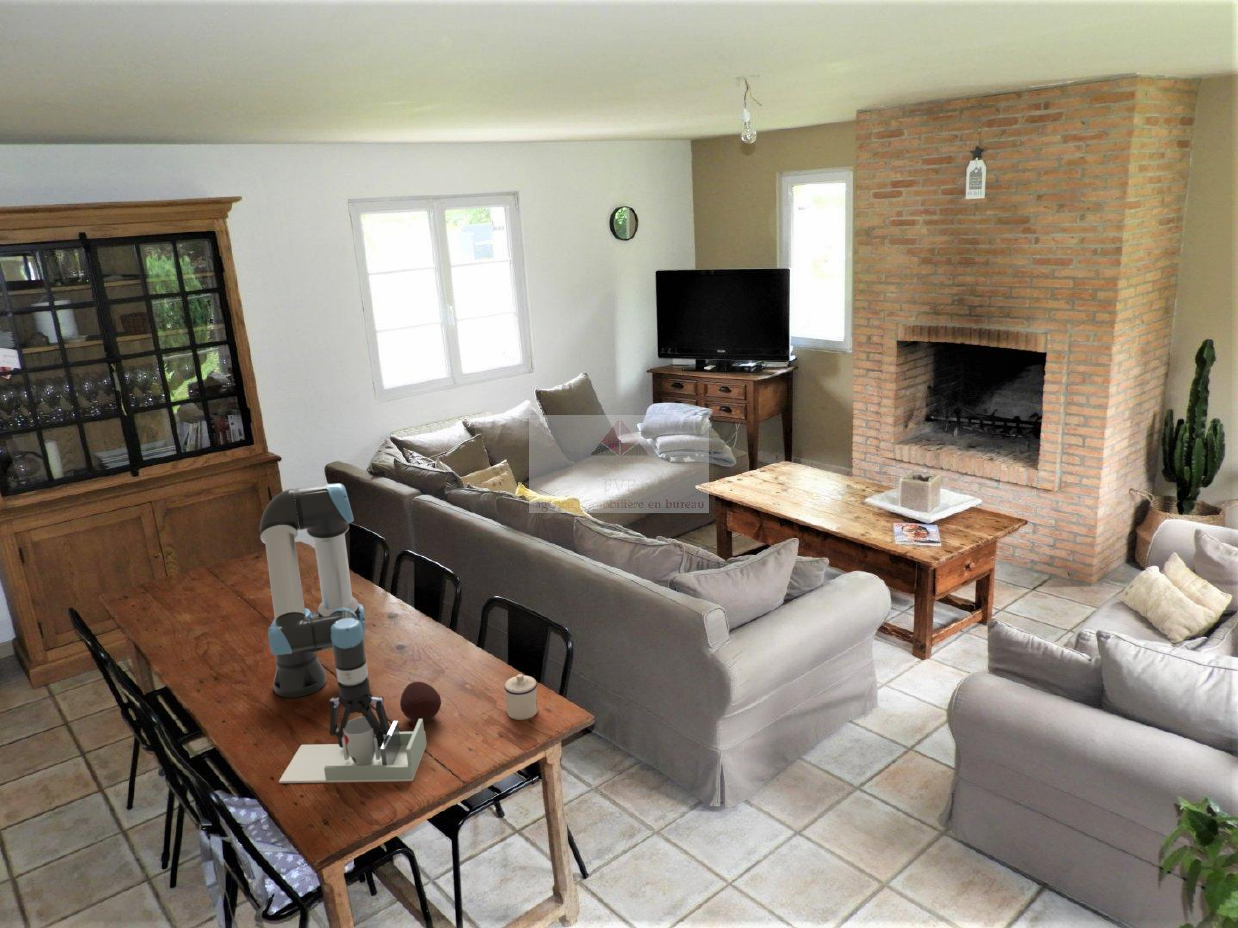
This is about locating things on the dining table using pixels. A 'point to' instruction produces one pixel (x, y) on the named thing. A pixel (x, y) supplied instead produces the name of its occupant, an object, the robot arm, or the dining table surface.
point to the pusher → (391, 745)
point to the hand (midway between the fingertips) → (363, 756)
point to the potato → (420, 702)
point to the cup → (360, 740)
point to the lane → (332, 766)
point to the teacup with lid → (521, 697)
